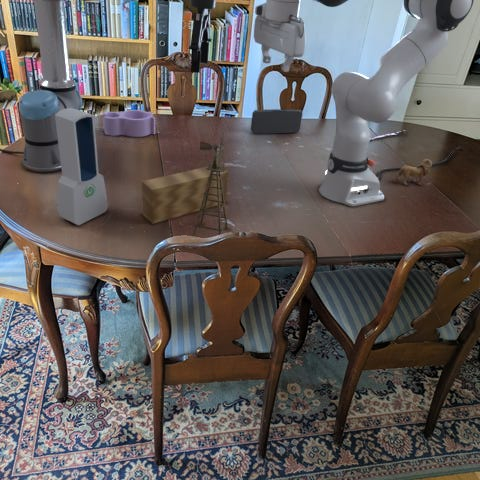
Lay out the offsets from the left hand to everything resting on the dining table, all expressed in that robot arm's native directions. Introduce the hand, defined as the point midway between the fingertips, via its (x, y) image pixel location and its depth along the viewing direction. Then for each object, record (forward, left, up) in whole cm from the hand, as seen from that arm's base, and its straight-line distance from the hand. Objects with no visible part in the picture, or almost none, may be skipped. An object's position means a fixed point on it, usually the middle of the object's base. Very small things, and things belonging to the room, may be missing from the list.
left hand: (199, 67), depth 149 cm
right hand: (+25, -17, +7) cm, 31 cm away
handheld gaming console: (+26, +48, -35) cm, 65 cm away
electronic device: (-24, -42, -35) cm, 60 cm away
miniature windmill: (+13, -42, -35) cm, 56 cm away
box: (+3, -30, -35) cm, 46 cm away
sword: (+77, +61, -35) cm, 104 cm away
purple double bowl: (-33, +26, -35) cm, 54 cm away
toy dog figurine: (+79, +13, -35) cm, 87 cm away
